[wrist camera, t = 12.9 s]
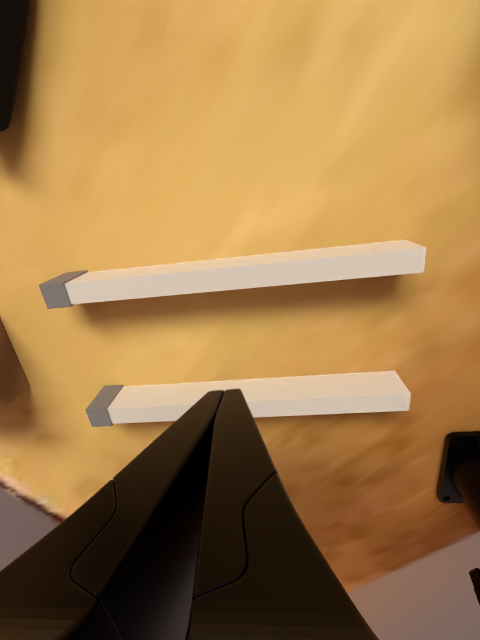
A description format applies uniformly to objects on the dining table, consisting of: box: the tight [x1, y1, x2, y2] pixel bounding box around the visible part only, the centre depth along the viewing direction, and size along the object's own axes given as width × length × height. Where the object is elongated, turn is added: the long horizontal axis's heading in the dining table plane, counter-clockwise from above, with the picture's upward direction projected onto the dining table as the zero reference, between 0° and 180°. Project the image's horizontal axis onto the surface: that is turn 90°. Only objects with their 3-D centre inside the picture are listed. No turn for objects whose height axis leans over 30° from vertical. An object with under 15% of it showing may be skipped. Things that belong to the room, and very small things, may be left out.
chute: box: [39, 240, 426, 427], centre depth 19 cm, size 10×20×3 cm, turn 97°
